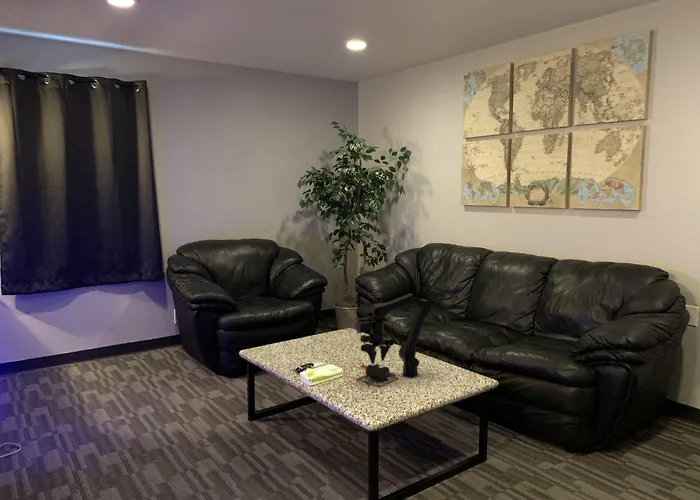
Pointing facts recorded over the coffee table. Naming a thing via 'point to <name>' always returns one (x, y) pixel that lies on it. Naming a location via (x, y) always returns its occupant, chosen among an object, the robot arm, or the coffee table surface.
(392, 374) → the metal rail
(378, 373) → the end cap
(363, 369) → the orange marked frame
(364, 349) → the robot arm
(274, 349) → the coffee table surface
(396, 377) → the walnut seat frame
